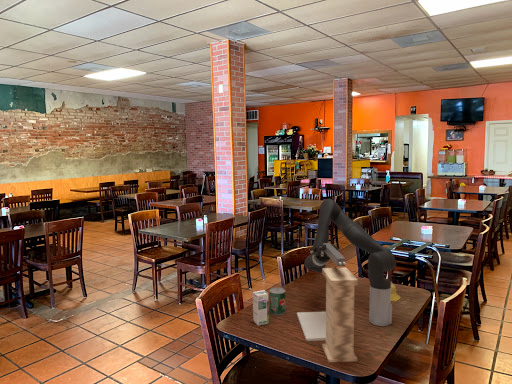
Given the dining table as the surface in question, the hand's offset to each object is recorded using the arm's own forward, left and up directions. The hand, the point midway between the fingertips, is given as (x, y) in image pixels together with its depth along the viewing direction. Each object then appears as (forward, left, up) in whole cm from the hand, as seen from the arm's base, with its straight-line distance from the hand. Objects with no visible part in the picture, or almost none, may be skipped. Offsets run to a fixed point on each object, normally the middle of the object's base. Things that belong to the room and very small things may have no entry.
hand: (329, 246), depth 160 cm
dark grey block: (0, +7, -3) cm, 7 cm away
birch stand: (0, +16, -39) cm, 42 cm away
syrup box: (+29, -13, -39) cm, 50 cm away
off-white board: (+2, -7, -39) cm, 39 cm away
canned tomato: (+20, -24, -39) cm, 50 cm away
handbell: (-42, -37, -39) cm, 68 cm away
